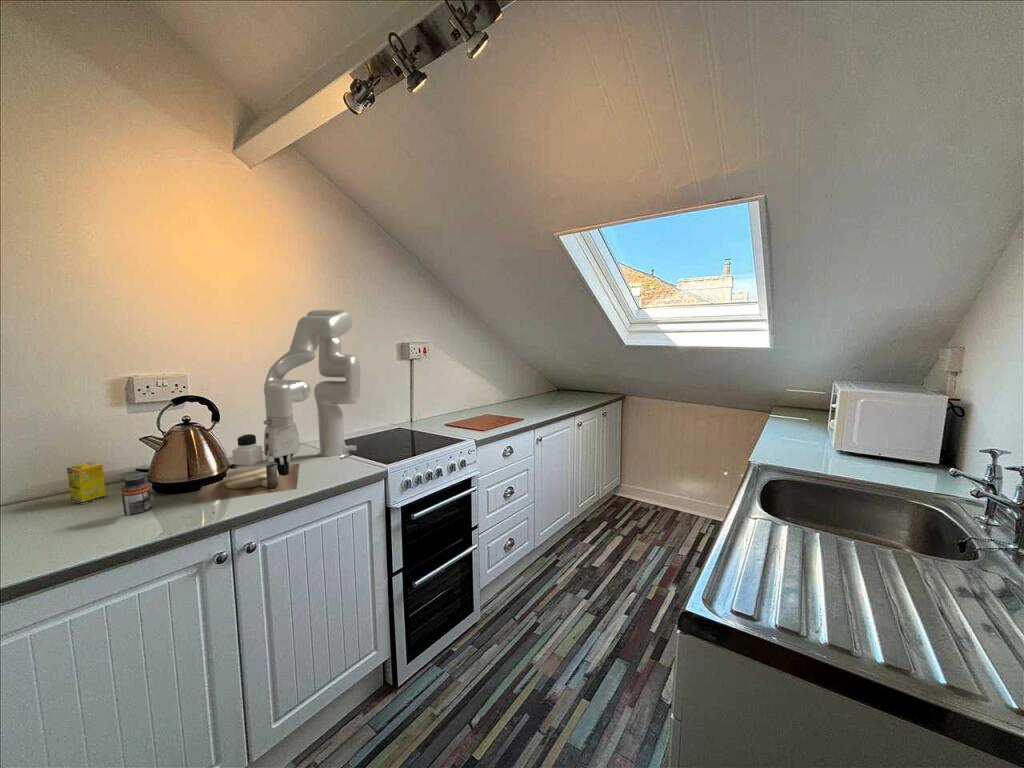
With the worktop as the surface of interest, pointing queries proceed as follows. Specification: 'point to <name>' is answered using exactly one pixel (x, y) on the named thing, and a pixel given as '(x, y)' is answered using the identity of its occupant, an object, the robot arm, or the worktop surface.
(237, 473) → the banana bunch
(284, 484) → the walnut board
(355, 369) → the robot arm
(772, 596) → the worktop surface
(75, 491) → the supplement box
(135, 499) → the supplement bottle
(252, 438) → the medicine bottle
